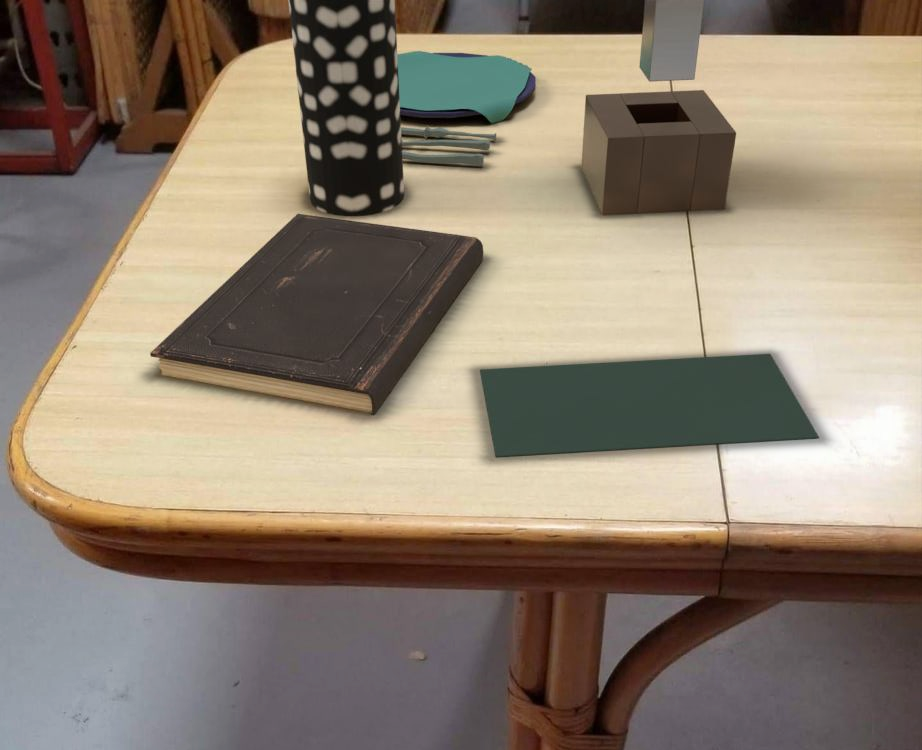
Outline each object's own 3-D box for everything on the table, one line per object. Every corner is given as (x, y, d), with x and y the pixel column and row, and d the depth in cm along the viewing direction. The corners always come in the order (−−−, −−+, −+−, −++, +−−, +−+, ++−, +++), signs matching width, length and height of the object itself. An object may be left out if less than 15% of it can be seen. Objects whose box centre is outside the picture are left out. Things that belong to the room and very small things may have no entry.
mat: (768, 360, 74) (770, 353, 73) (817, 444, 66) (819, 436, 66) (479, 376, 73) (479, 369, 72) (495, 464, 65) (495, 455, 65)
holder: (693, 167, 100) (703, 89, 95) (723, 215, 92) (736, 132, 87) (580, 172, 99) (585, 94, 94) (601, 220, 91) (608, 138, 86)
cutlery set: (548, 75, 120) (549, 53, 119) (502, 178, 98) (502, 153, 97) (377, 65, 124) (376, 44, 122) (295, 163, 101) (292, 139, 100)
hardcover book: (156, 381, 73) (149, 352, 71) (300, 239, 89) (297, 213, 87) (375, 421, 69) (373, 391, 67) (483, 265, 85) (483, 237, 83)
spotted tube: (291, 202, 95) (260, -52, 82) (362, 175, 99) (343, -69, 86) (352, 230, 90) (330, -34, 77) (423, 200, 95) (414, -54, 82)
